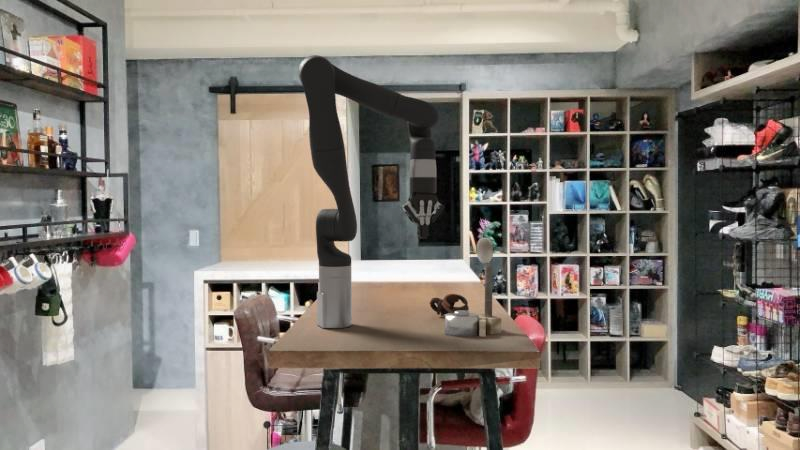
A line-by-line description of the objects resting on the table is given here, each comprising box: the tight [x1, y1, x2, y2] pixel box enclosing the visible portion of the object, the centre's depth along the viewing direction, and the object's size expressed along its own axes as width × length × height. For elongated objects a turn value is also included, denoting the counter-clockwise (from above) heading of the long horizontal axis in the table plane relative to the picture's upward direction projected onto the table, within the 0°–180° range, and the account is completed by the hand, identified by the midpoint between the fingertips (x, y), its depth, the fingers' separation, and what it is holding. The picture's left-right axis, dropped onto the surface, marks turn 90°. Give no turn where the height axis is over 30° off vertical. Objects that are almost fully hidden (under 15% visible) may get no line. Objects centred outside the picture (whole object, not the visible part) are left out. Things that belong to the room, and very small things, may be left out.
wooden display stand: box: [476, 237, 502, 337], centre depth 173 cm, size 7×12×26 cm, turn 23°
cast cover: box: [444, 310, 479, 338], centre depth 171 cm, size 9×9×6 cm
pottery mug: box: [429, 293, 470, 317], centre depth 194 cm, size 12×10×8 cm
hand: (423, 238), depth 179 cm, fingers closed
